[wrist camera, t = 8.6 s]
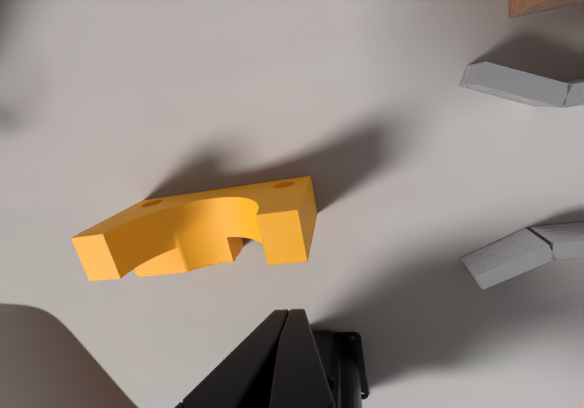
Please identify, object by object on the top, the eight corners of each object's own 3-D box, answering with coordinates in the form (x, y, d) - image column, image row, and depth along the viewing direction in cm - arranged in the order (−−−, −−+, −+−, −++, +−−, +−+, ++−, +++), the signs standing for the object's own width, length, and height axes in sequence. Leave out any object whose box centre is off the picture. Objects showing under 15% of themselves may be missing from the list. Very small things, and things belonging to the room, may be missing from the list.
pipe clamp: (163, 253, 23) (101, 308, 17) (145, 199, 22) (70, 238, 16) (321, 236, 21) (313, 293, 15) (311, 175, 20) (297, 209, 14)
